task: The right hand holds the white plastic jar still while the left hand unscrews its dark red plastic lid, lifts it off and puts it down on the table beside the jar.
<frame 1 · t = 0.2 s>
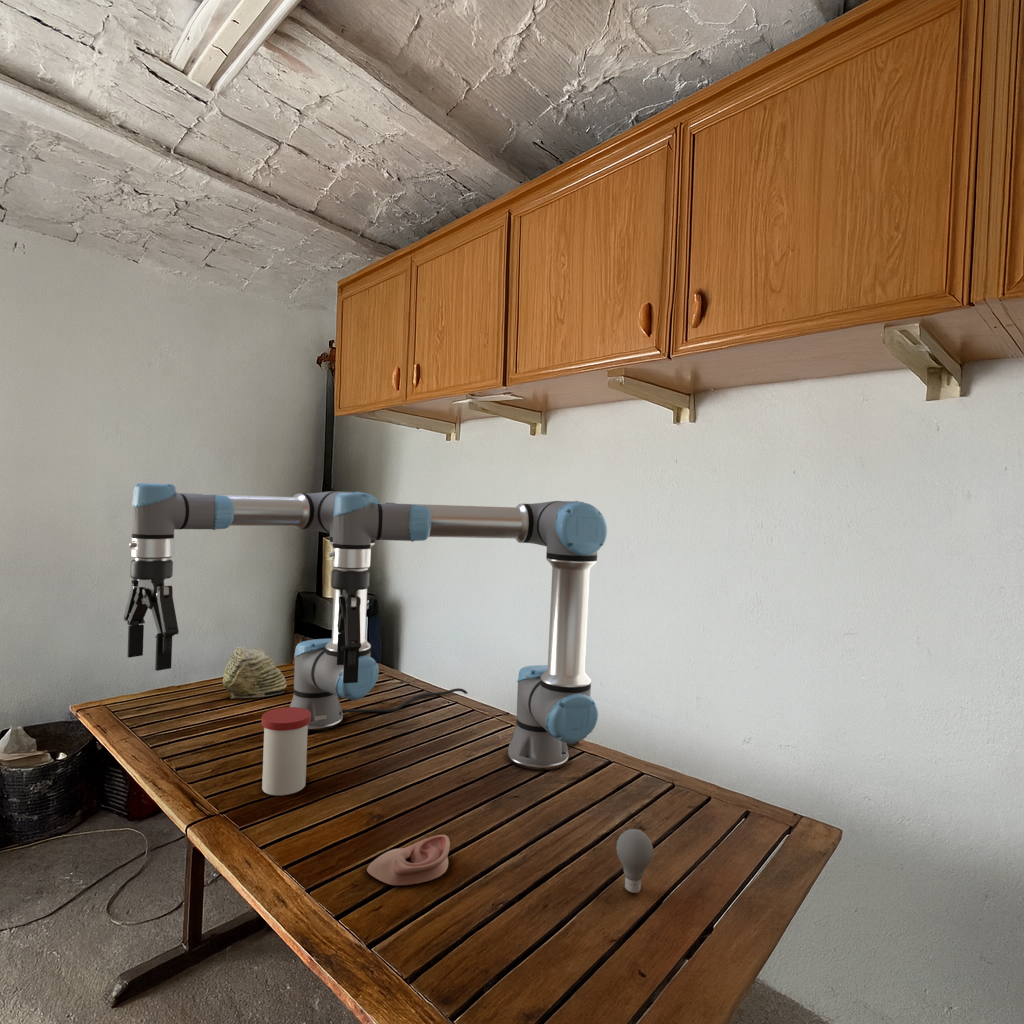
left hand: (148, 662, 129), 28 cm above the table, tool pointing down, fingers open, 13 cm apart
right hand: (346, 673, 129), 28 cm above the table, tool pointing down, fingers open, 13 cm apart
light bulb: (632, 891, 106), on the table
fossil: (254, 694, 198), on the table
lid: (286, 716, 138), point 15 cm above the table, screwed on, not yet turned
anatomical model: (408, 868, 110), on the table
jar: (284, 785, 138), on the table
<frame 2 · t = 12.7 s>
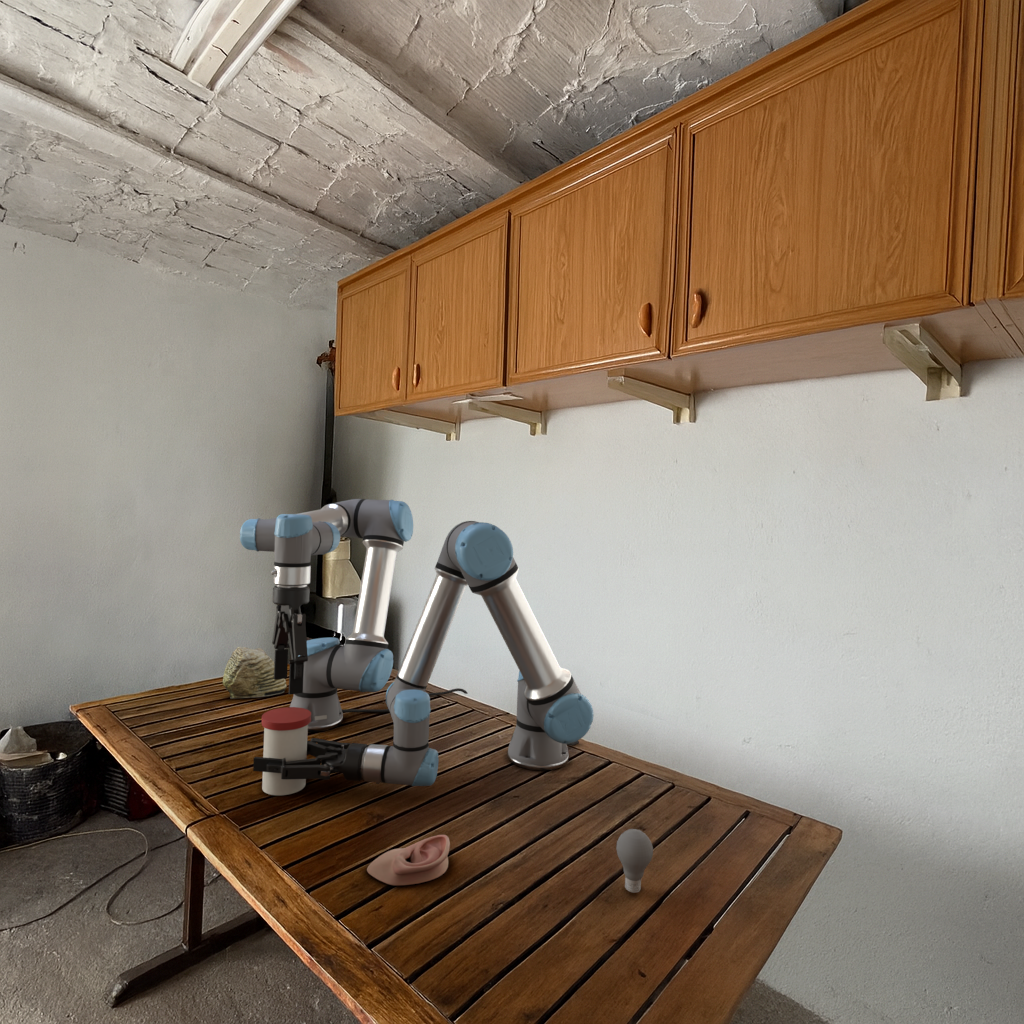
left hand: (287, 685, 138), 22 cm above the table, tool pointing down, fingers open, 11 cm apart
right hand: (265, 754, 138), 7 cm above the table, tool horizontal, fingers closed on jar, 9 cm apart
jar: (284, 785, 138), on the table, touching right hand
everything else where it was.
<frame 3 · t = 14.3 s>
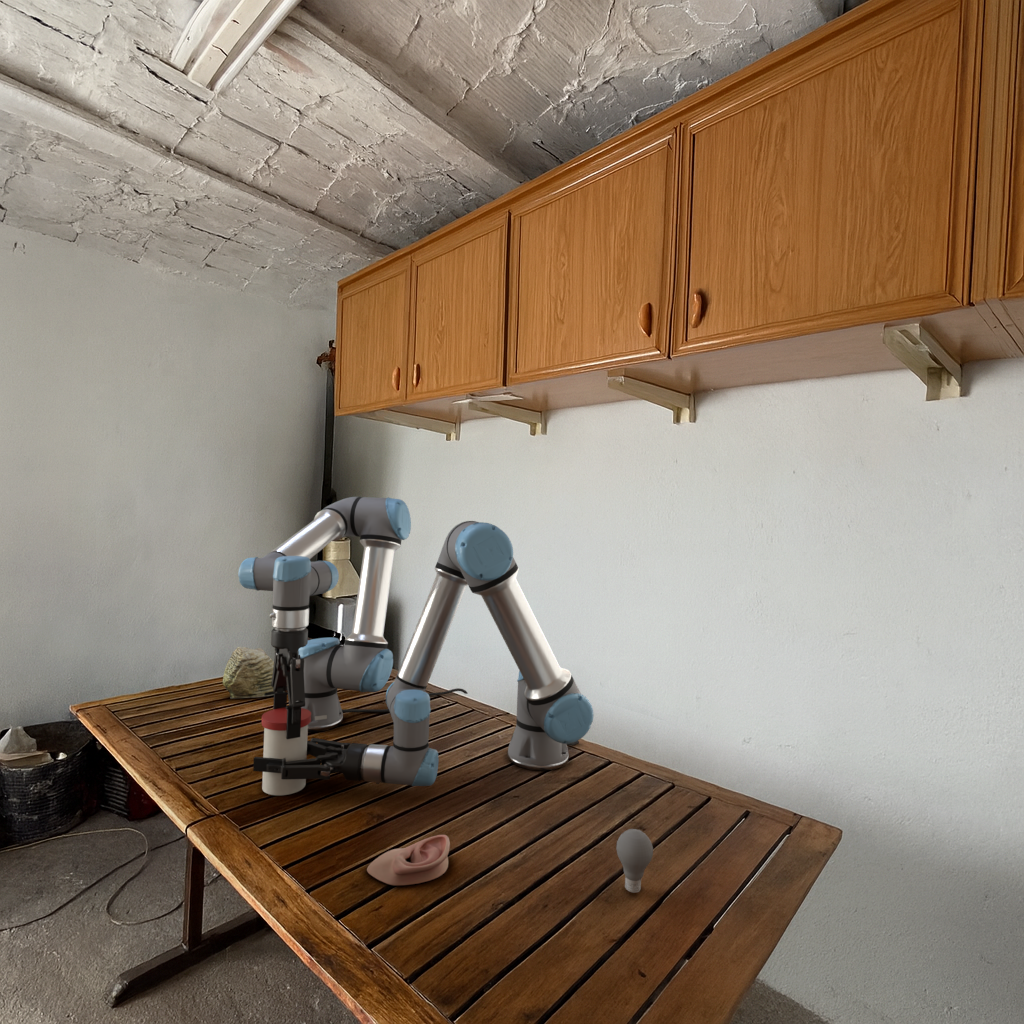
left hand: (286, 729, 138), 12 cm above the table, tool pointing down, fingers closed on lid, 10 cm apart
right hand: (265, 754, 138), 6 cm above the table, tool horizontal, fingers closed on jar, 9 cm apart
lid: (286, 716, 138), point 15 cm above the table, screwed on, not yet turned, touching left hand
jar: (284, 785, 138), on the table, touching right hand
everything else where it was.
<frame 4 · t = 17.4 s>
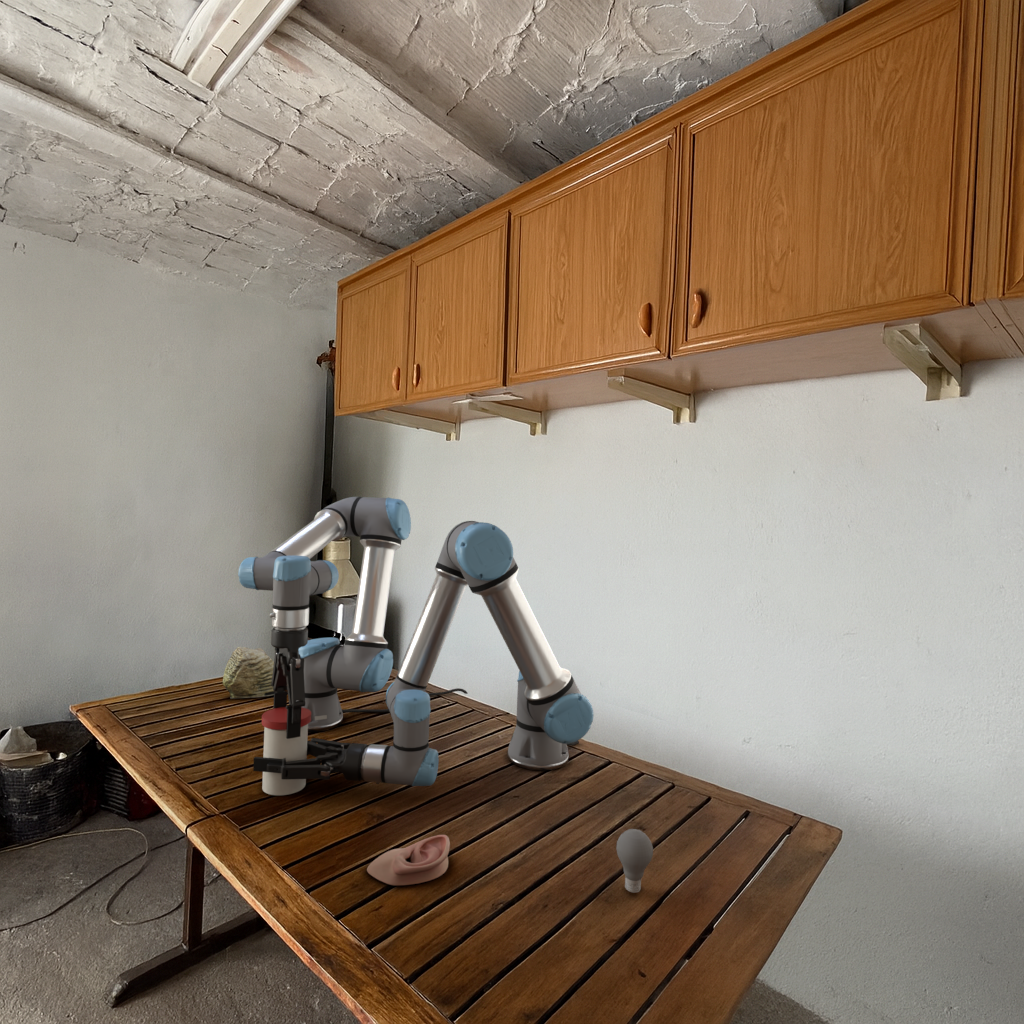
left hand: (286, 728, 138), 13 cm above the table, tool pointing down, fingers closed on lid, 10 cm apart
right hand: (265, 754, 138), 6 cm above the table, tool horizontal, fingers closed on jar, 9 cm apart
lid: (286, 715, 138), point 15 cm above the table, turned 89° so far, risen 0.2 cm, still on its thread, touching left hand
jar: (284, 785, 138), on the table, touching right hand
everything else where it was.
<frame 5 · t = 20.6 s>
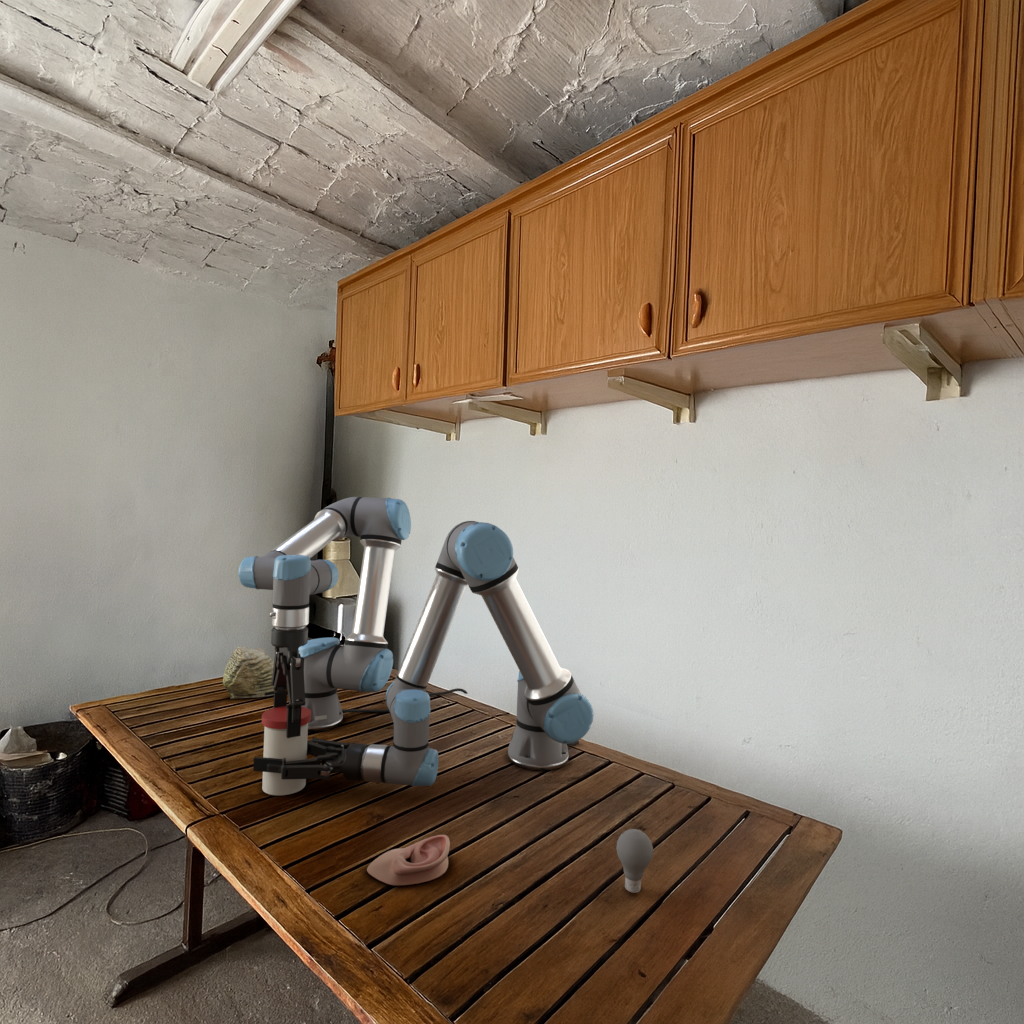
left hand: (286, 728, 138), 13 cm above the table, tool pointing down, fingers closed on lid, 10 cm apart
right hand: (265, 754, 138), 6 cm above the table, tool horizontal, fingers closed on jar, 9 cm apart
lid: (286, 714, 138), point 16 cm above the table, turned 177° so far, risen 0.3 cm, still on its thread, touching left hand
jar: (284, 785, 138), on the table, touching right hand
everything else where it was.
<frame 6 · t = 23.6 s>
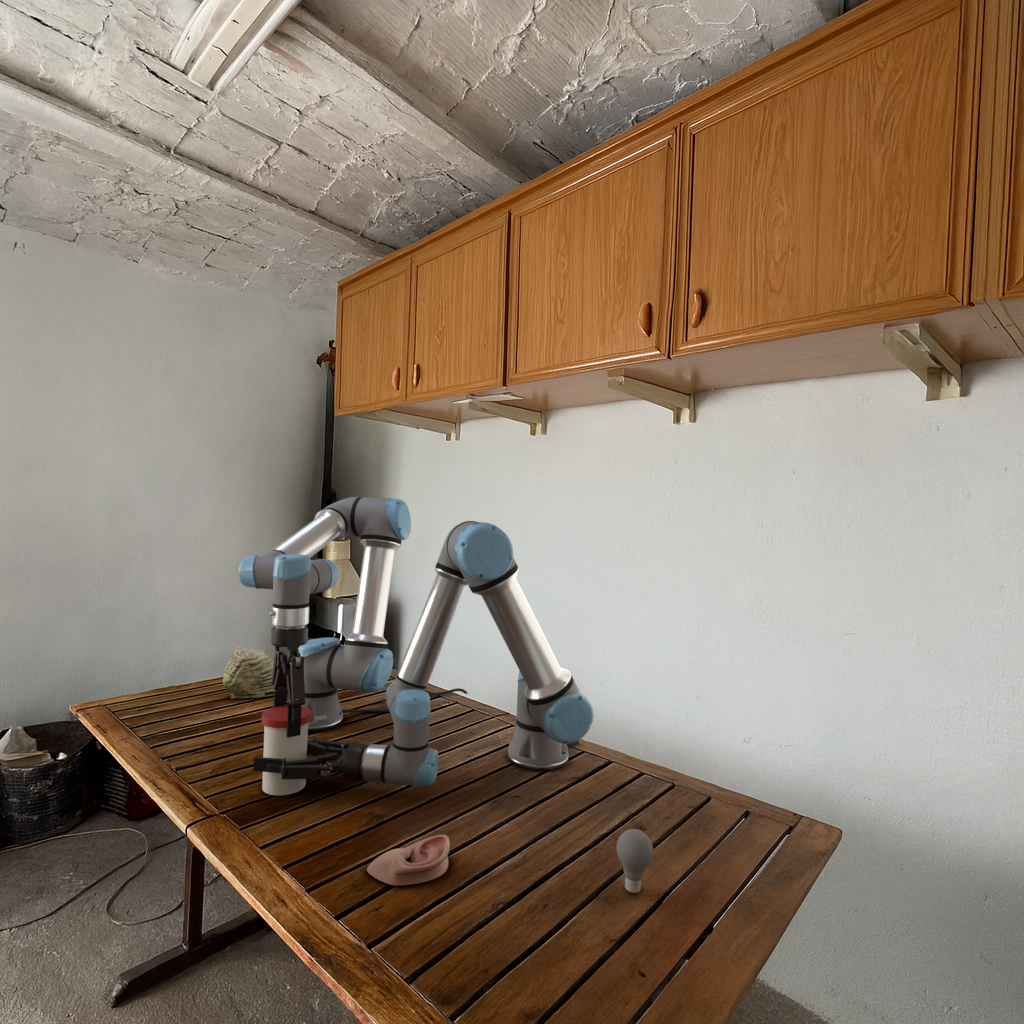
left hand: (286, 727, 138), 13 cm above the table, tool pointing down, fingers closed on lid, 10 cm apart
right hand: (265, 754, 138), 6 cm above the table, tool horizontal, fingers closed on jar, 9 cm apart
lid: (286, 714, 138), point 16 cm above the table, turned 266° so far, risen 0.5 cm, still on its thread, touching left hand
jar: (284, 785, 138), on the table, touching right hand
everything else where it was.
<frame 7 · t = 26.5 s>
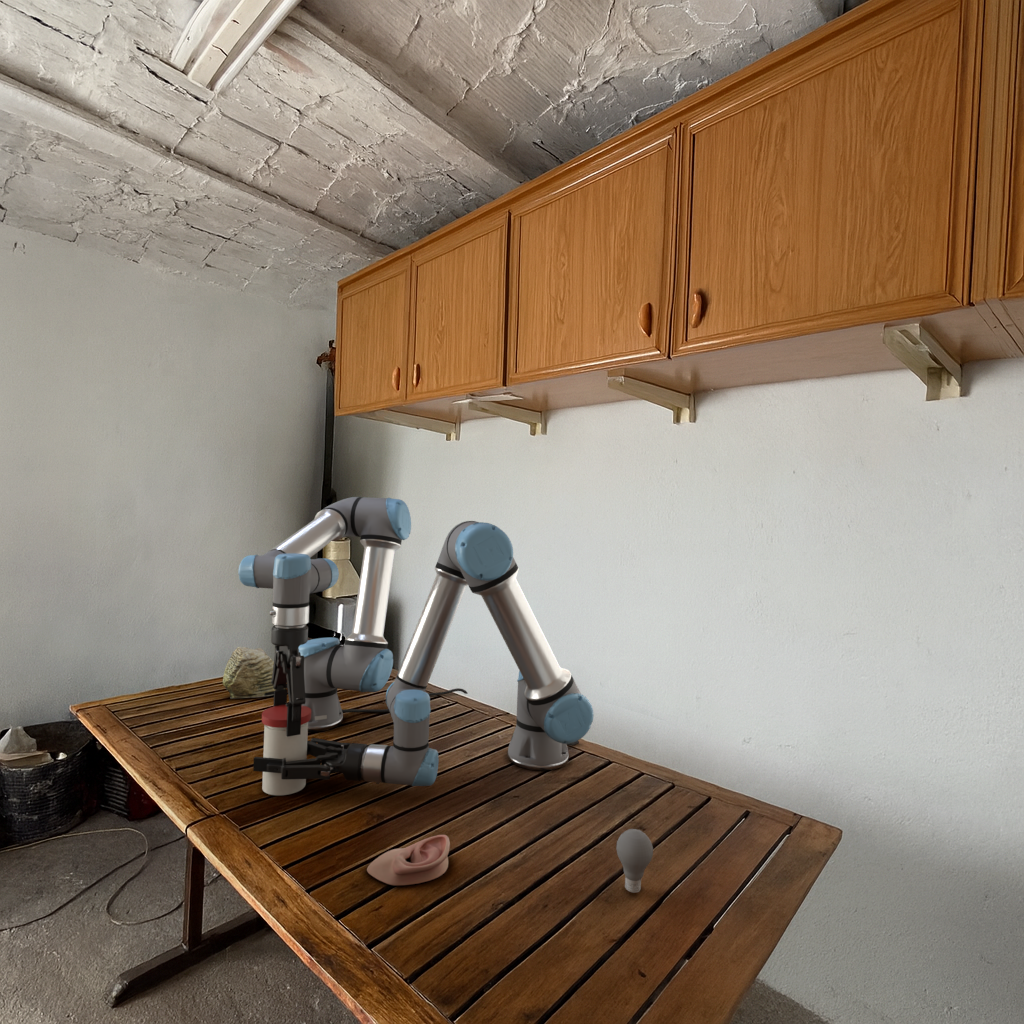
left hand: (286, 726, 138), 13 cm above the table, tool pointing down, fingers closed on lid, 10 cm apart
right hand: (265, 754, 138), 7 cm above the table, tool horizontal, fingers closed on jar, 9 cm apart
lid: (286, 713, 138), point 16 cm above the table, turned 354° so far, risen 0.6 cm, still on its thread, touching left hand
jar: (284, 785, 138), on the table, touching right hand
everything else where it was.
when the left hand's fingers open (0 cm above the table, at t = 35.8 s): lid drops 2 cm, point 1 cm above the table.
when the right hand's fingers open (7 cm above the table, at t = 37.5 s): jar stays where it is, on the table.
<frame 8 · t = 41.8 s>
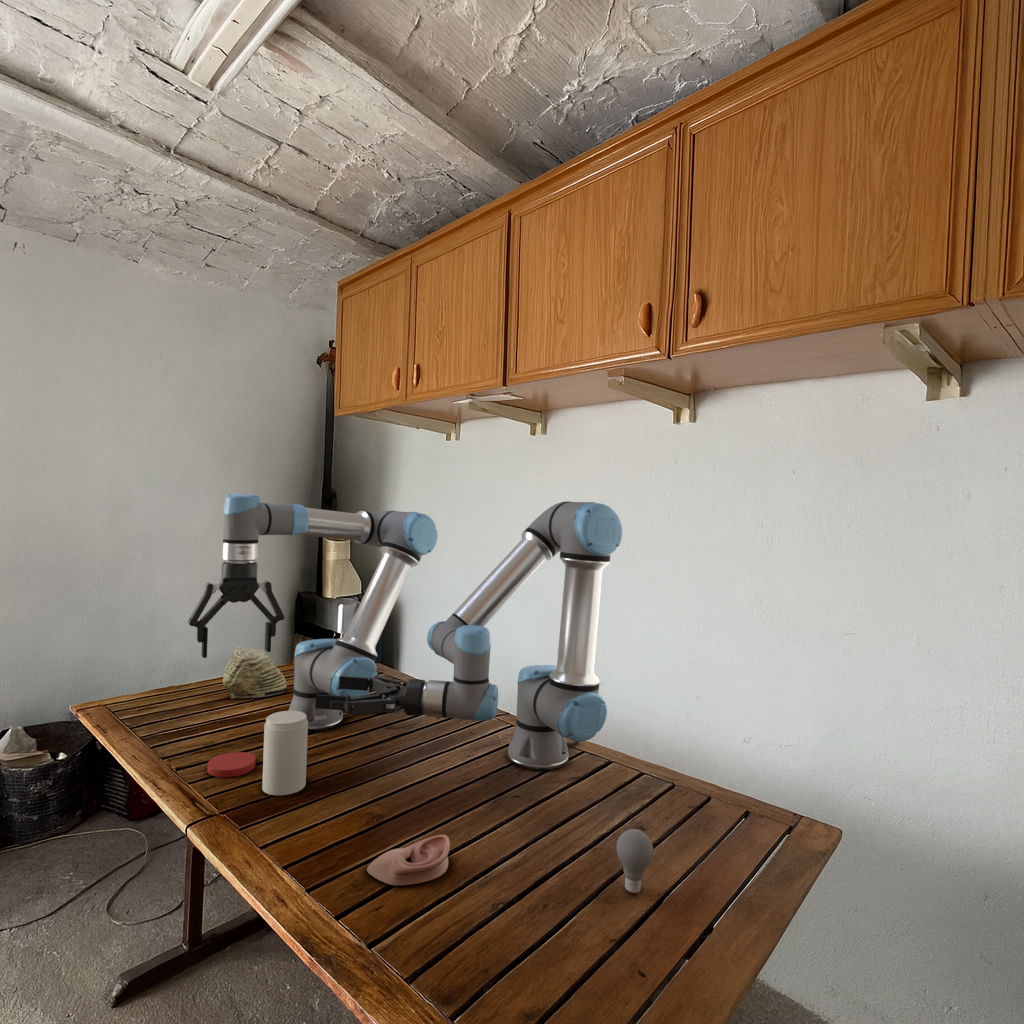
left hand: (236, 653, 145), 26 cm above the table, tool pointing down, fingers open, 13 cm apart
right hand: (328, 691, 137), 21 cm above the table, tool horizontal, fingers open, 13 cm apart
lid: (231, 762, 146), point 1 cm above the table, off its thread
jar: (284, 785, 138), on the table
everything else where it was.
at the end: lid came off its thread; lid point 1.3 cm above the table; the left hand is holding nothing; the right hand is holding nothing; jar tilted 0°; jar moved 0.0 cm from its start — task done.
